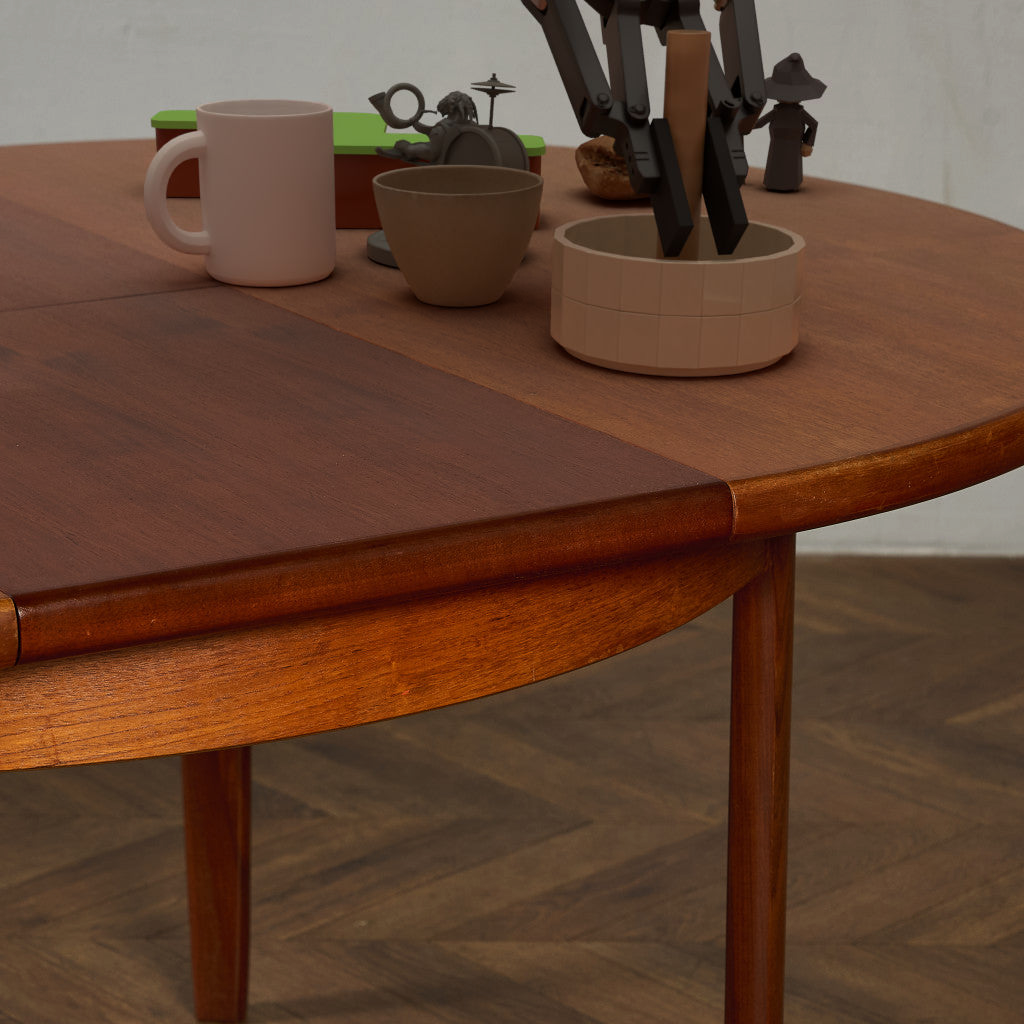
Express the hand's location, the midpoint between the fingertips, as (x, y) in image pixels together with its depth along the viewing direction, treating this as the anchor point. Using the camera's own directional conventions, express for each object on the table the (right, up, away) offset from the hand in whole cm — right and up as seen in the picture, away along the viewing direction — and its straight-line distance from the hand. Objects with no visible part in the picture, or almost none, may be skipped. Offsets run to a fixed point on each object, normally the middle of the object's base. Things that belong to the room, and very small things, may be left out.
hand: (706, 240), depth 81 cm
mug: (-27, +1, +21) cm, 34 cm away
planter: (-23, +10, +44) cm, 51 cm away
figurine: (-14, +4, +28) cm, 32 cm away
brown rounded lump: (0, +12, +50) cm, 51 cm away
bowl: (-1, -5, +7) cm, 8 cm away
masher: (-1, -3, +5) cm, 6 cm away
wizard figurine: (+12, +13, +55) cm, 58 cm away
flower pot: (-13, -1, +17) cm, 21 cm away
